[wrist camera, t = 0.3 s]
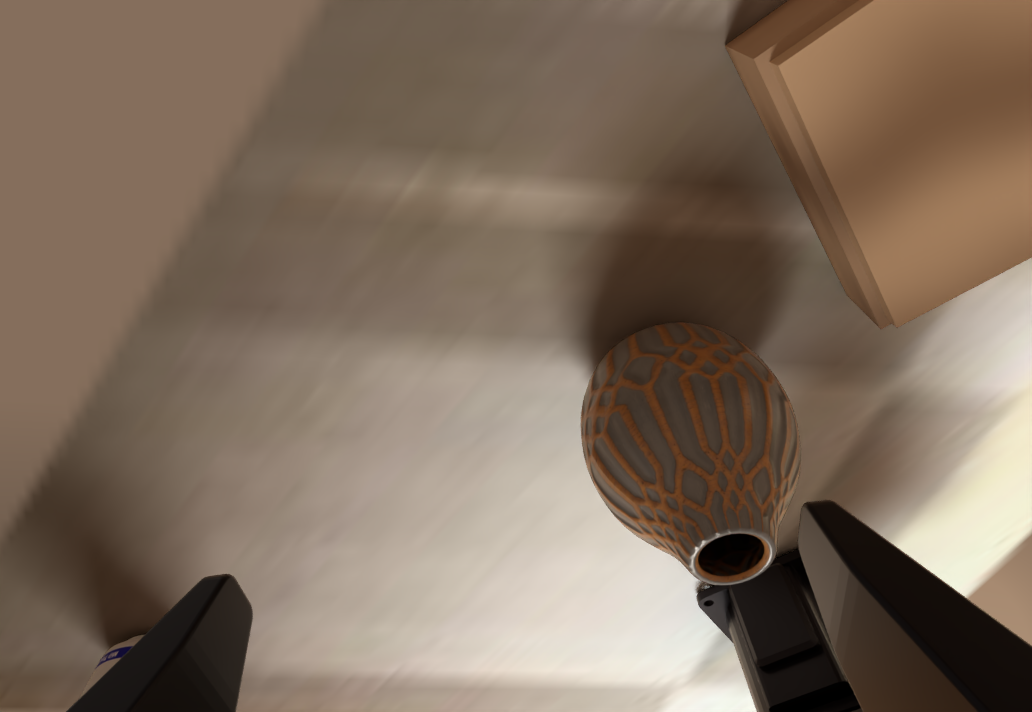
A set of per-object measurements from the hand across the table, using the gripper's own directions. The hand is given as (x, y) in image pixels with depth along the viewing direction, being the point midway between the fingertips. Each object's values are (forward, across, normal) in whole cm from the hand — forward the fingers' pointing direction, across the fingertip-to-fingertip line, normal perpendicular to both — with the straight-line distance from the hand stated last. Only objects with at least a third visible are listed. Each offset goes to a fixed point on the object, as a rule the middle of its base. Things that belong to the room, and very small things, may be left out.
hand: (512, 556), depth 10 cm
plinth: (+13, -14, -3) cm, 19 cm away
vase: (+14, -5, +6) cm, 16 cm away
